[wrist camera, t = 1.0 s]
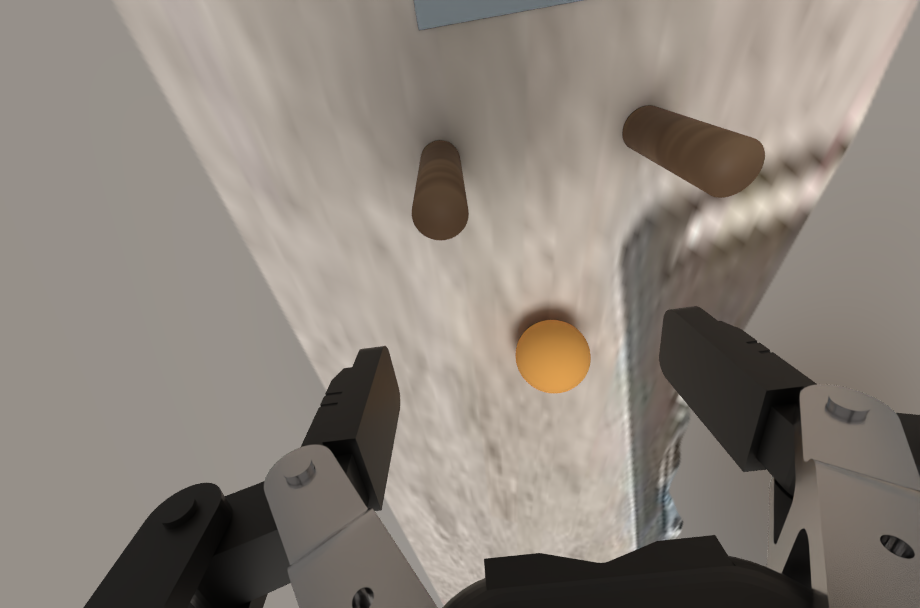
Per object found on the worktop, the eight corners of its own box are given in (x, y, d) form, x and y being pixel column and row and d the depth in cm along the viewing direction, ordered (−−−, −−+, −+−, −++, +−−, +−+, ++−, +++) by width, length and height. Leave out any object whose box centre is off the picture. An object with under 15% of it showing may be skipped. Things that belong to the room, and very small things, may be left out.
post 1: (416, 143, 24) (405, 191, 16) (457, 137, 24) (464, 182, 16) (424, 184, 25) (418, 244, 18) (462, 178, 25) (471, 235, 18)
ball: (508, 310, 32) (520, 360, 27) (579, 300, 32) (604, 349, 27) (512, 361, 35) (524, 413, 30) (576, 352, 35) (598, 403, 30)
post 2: (624, 109, 23) (710, 142, 16) (667, 102, 23) (773, 132, 16) (620, 152, 25) (696, 201, 17) (660, 146, 25) (754, 192, 17)
